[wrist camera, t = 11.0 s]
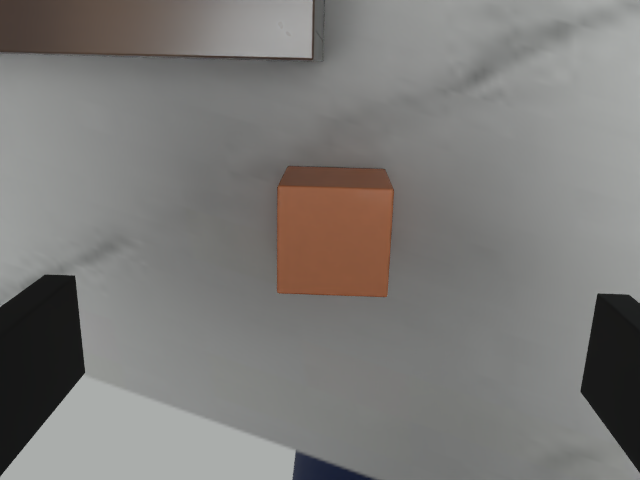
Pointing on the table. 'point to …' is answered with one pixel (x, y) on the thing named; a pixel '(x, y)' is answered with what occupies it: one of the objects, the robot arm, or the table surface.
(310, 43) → the cabinet
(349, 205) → the block
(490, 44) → the table surface
